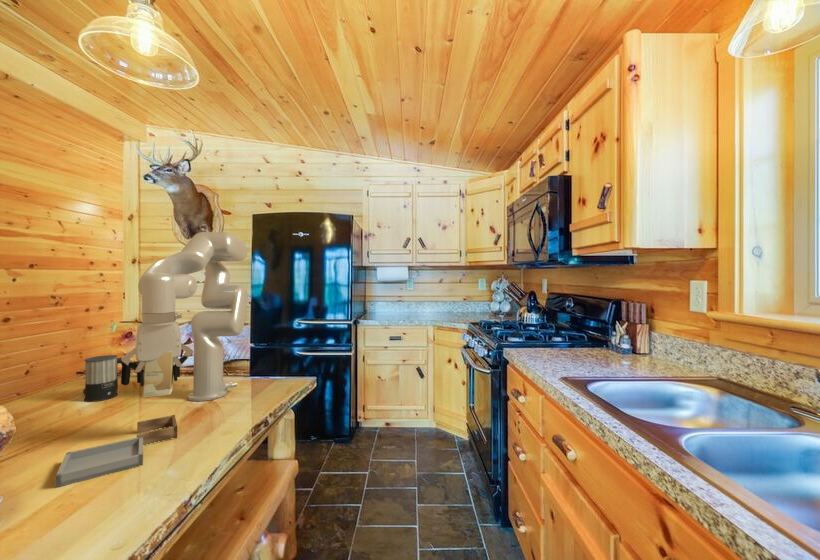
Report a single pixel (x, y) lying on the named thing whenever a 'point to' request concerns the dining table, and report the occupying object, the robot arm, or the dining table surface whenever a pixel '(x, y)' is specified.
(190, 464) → the dining table surface
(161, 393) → the skincare box
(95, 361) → the milk frother
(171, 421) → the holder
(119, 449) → the tray
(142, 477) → the dining table surface
